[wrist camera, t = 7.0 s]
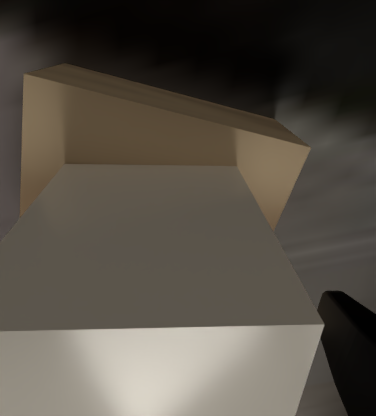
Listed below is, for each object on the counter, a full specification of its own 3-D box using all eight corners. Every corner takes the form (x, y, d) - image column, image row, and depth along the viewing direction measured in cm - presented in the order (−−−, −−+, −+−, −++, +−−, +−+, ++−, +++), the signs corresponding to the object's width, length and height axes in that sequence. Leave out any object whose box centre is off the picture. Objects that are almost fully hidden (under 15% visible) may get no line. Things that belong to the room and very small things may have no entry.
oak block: (214, 271, 16) (226, 334, 13) (52, 242, 15) (17, 304, 12) (272, 117, 13) (310, 147, 9) (67, 62, 12) (23, 73, 8)
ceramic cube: (222, 294, 12) (267, 499, 7) (84, 296, 12) (14, 515, 6) (236, 166, 10) (324, 324, 4) (64, 163, 9) (-75, 333, 4)
